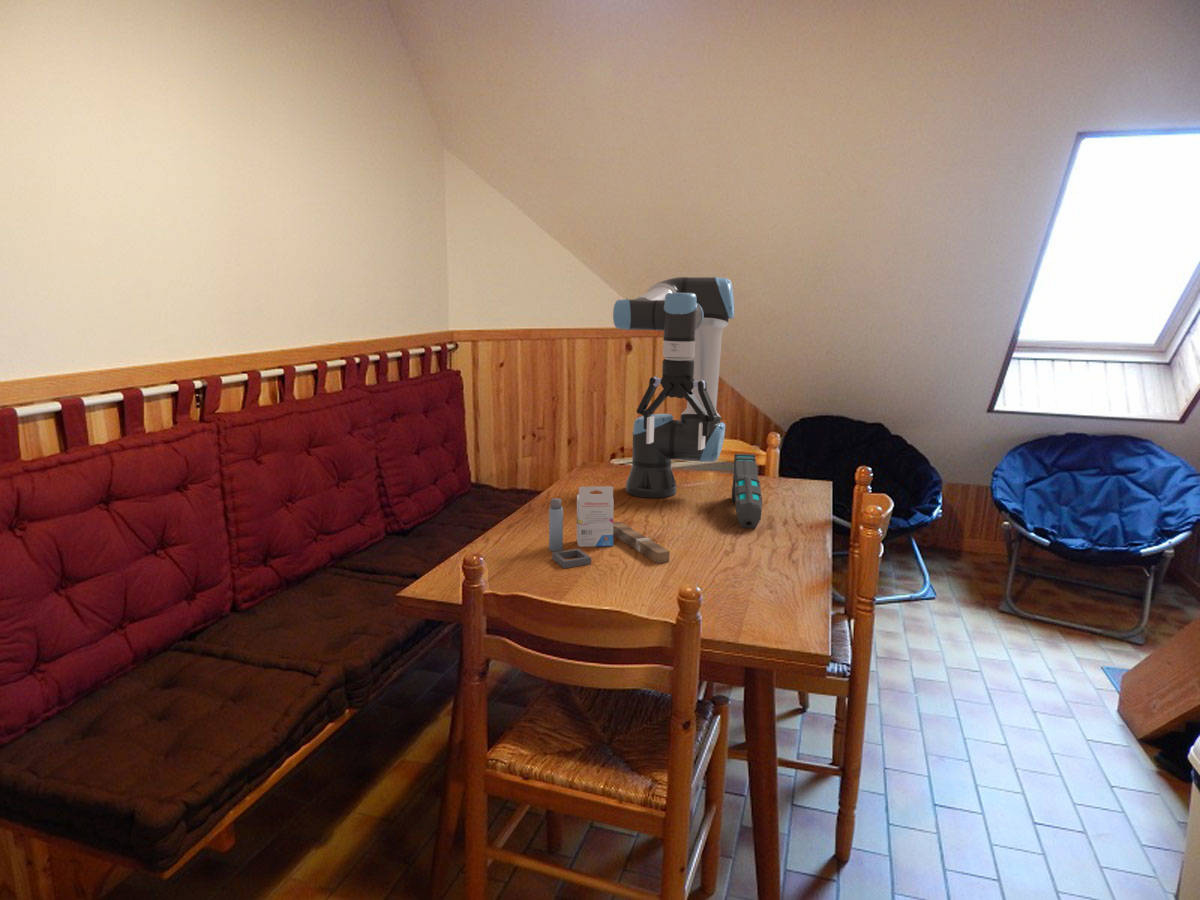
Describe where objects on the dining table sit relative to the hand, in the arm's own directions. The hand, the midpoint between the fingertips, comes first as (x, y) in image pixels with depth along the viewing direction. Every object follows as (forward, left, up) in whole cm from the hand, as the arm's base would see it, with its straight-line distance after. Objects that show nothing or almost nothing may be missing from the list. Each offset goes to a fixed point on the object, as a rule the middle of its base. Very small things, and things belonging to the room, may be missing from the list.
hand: (675, 446), depth 187 cm
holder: (+8, -31, -22) cm, 39 cm away
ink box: (-1, -21, -23) cm, 31 cm away
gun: (-8, +28, -23) cm, 37 cm away
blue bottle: (-1, -31, -22) cm, 38 cm away
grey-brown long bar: (+5, -12, -22) cm, 26 cm away
